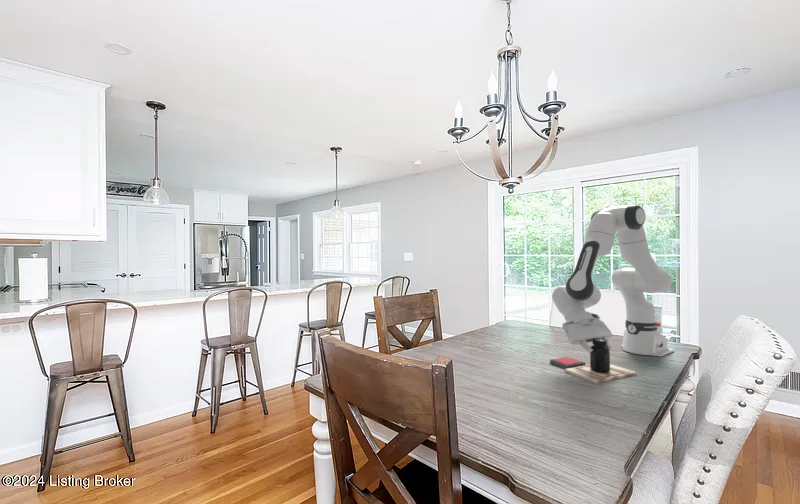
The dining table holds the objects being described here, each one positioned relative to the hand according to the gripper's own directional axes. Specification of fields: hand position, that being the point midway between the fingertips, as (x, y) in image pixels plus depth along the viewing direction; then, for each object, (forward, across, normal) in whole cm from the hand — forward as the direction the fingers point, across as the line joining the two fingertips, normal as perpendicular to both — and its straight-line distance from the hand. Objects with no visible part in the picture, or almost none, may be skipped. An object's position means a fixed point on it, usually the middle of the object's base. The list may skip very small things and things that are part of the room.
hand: (600, 350), depth 143 cm
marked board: (+6, 0, +6) cm, 9 cm away
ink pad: (-3, -3, +16) cm, 16 cm away
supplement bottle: (+6, 0, +6) cm, 8 cm away
